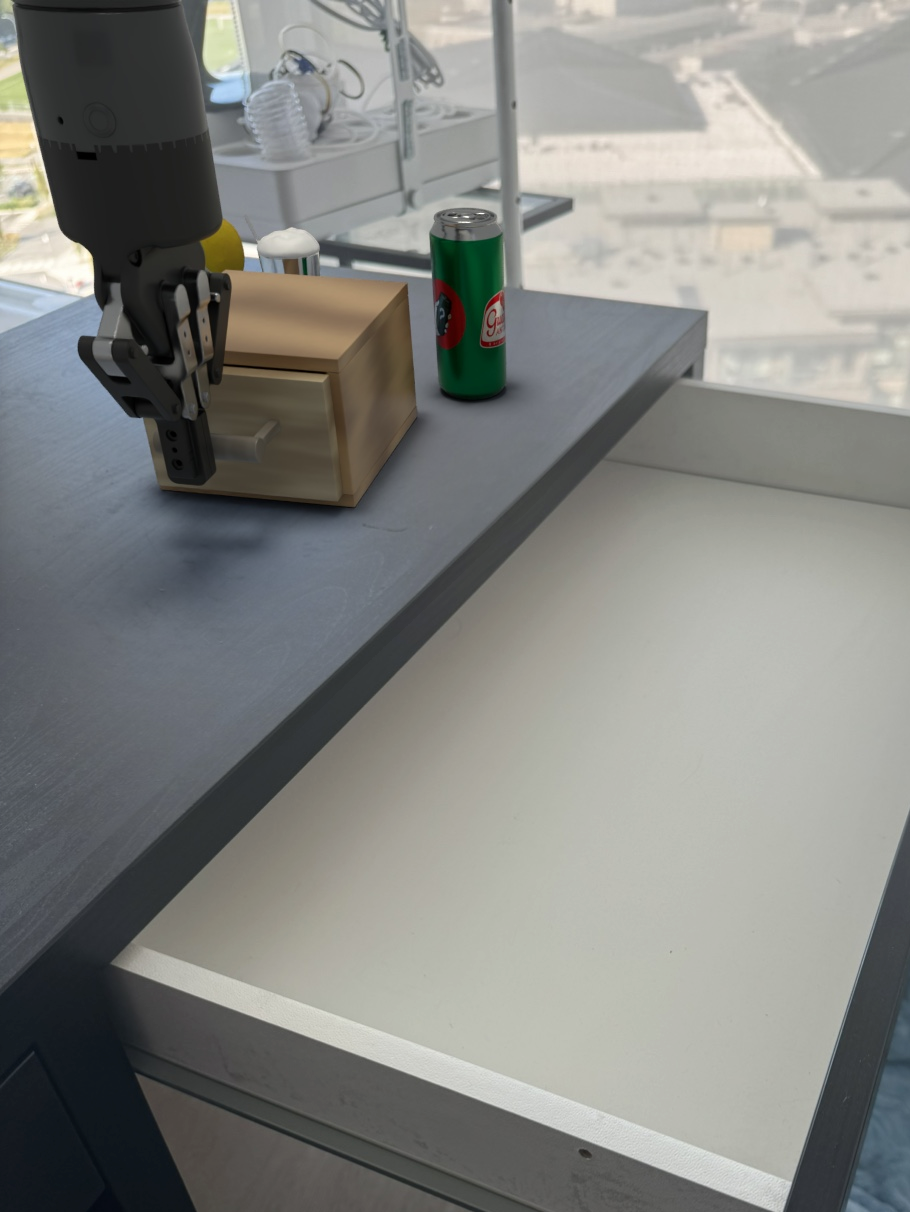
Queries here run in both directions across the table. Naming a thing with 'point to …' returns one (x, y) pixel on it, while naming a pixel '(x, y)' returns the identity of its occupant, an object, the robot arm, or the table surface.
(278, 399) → the drawer
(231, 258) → the apple
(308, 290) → the cabinet
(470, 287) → the soda can
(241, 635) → the table surface
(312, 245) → the milkshake
